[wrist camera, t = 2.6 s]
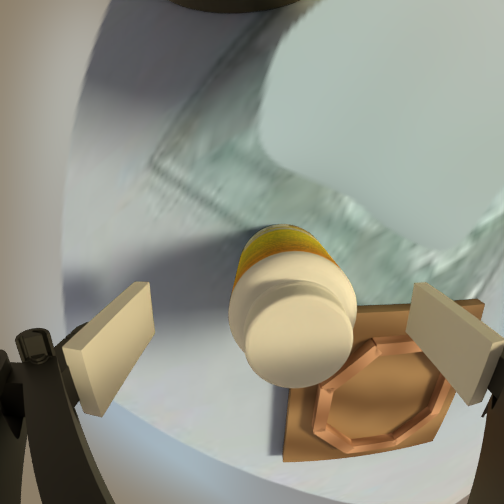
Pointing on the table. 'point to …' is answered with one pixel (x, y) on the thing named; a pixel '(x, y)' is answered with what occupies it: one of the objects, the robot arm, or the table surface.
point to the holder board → (372, 393)
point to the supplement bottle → (291, 308)
